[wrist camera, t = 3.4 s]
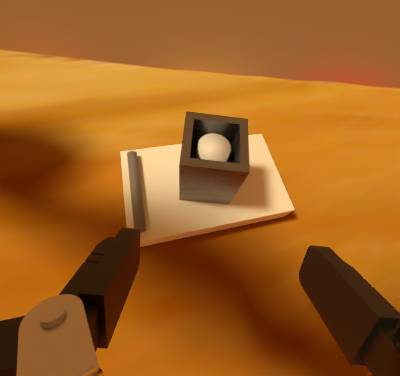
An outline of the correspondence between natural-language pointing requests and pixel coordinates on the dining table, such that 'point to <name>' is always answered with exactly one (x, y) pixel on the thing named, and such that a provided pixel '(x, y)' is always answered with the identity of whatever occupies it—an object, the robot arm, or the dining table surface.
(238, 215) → the peg stand
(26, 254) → the dining table surface
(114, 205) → the dining table surface
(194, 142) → the hollow square tube
